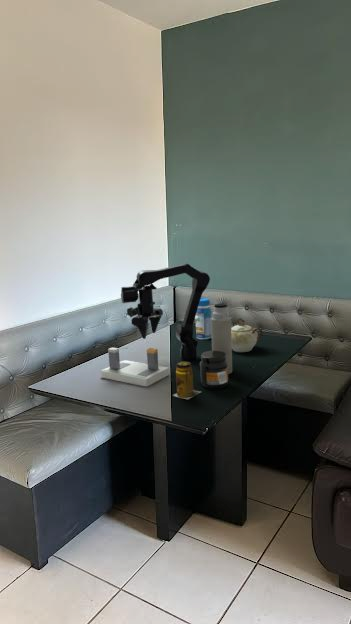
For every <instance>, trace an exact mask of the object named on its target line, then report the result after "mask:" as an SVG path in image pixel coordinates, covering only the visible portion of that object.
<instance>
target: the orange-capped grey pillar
mask: <svg viewBox="0 0 351 624" xmlns="http://www.w3.org/2000/svg"><path fill="white" fill-rule="evenodd" d="M158 350H159V349H158V348H152V347H149V348H147V349H146V358H147V359H146V361H147V364H148V369H151V370H157V369H158V366H159V354H158Z"/></svg>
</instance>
